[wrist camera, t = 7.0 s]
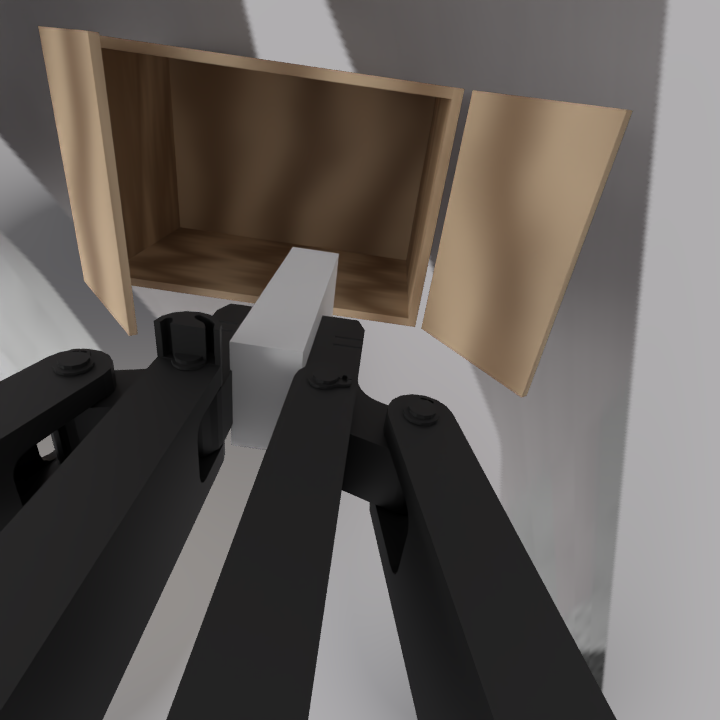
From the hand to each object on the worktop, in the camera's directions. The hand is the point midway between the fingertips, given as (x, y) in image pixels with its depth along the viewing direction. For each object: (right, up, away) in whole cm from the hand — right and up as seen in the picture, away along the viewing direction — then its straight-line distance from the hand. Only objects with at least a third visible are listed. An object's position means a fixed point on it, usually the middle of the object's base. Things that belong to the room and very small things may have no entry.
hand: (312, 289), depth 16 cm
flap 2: (+8, +3, +8) cm, 12 cm away
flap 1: (-12, +6, +8) cm, 16 cm away
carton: (-3, +13, +21) cm, 25 cm away
